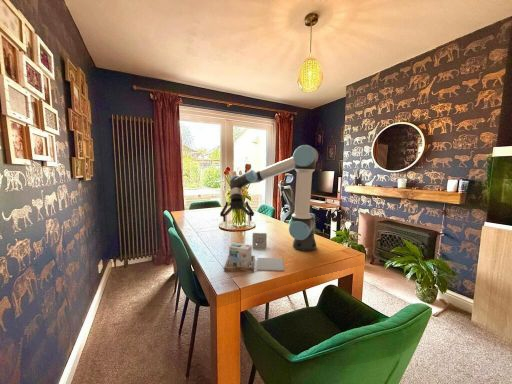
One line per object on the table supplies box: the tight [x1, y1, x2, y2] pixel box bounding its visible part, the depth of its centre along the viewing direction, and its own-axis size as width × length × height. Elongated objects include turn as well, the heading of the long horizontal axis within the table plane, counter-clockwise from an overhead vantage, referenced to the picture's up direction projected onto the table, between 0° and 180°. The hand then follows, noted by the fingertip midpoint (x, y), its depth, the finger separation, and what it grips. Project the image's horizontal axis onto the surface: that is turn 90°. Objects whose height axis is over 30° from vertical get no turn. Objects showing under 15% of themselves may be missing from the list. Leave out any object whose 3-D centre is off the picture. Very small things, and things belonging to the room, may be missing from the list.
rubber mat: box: [256, 257, 285, 272], centre depth 116 cm, size 14×14×1 cm
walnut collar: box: [223, 255, 256, 273], centre depth 115 cm, size 15×15×2 cm
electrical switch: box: [252, 232, 268, 249], centre depth 141 cm, size 9×5×9 cm, turn 86°
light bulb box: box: [228, 242, 253, 267], centre depth 114 cm, size 11×7×11 cm, turn 70°
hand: (237, 226), depth 123 cm, fingers open, 13 cm apart
